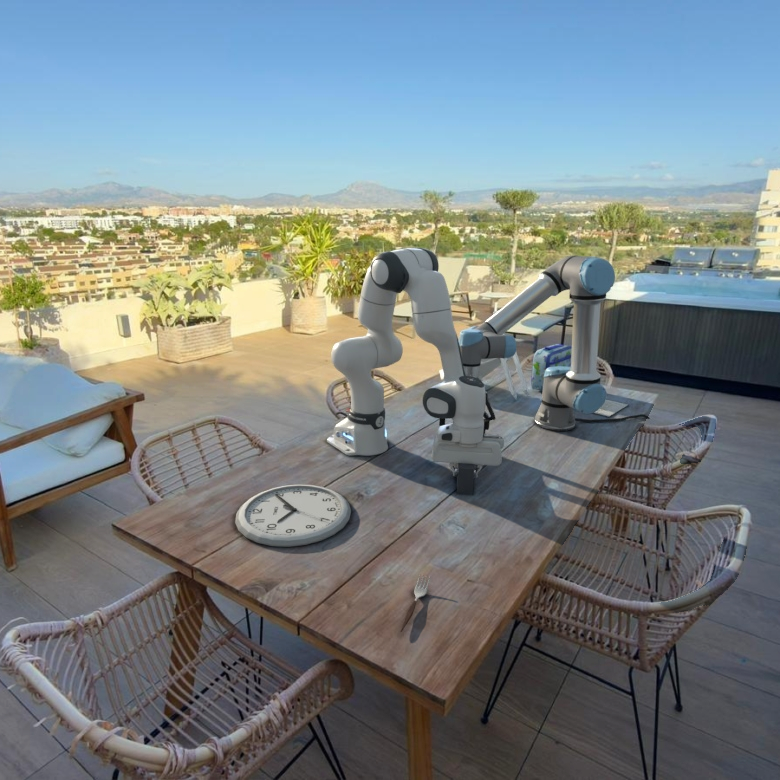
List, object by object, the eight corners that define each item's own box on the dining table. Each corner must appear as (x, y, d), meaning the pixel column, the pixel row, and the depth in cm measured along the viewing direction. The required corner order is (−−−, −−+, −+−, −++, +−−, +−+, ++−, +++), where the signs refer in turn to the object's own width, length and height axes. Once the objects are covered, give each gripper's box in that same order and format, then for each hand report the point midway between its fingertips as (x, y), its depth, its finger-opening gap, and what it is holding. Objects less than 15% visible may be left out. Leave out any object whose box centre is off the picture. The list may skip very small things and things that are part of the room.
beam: (456, 444, 185) (457, 423, 182) (469, 444, 184) (470, 423, 182) (456, 493, 151) (458, 468, 148) (472, 494, 150) (474, 469, 148)
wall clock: (351, 538, 125) (223, 542, 122) (351, 544, 125) (223, 548, 123) (350, 480, 153) (246, 482, 151) (350, 485, 154) (246, 487, 151)
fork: (394, 632, 98) (394, 623, 98) (419, 581, 113) (419, 573, 112) (407, 636, 97) (407, 627, 97) (430, 584, 112) (431, 576, 111)
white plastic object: (461, 429, 252) (437, 405, 227) (444, 352, 274) (420, 323, 250) (535, 404, 240) (518, 377, 215) (510, 326, 262) (492, 293, 237)
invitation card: (608, 416, 214) (573, 407, 224) (608, 416, 214) (573, 408, 224) (628, 404, 229) (594, 396, 238) (628, 405, 229) (594, 397, 238)
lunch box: (547, 396, 238) (552, 351, 232) (526, 391, 246) (531, 347, 239) (574, 385, 256) (579, 343, 250) (554, 380, 263) (559, 340, 257)
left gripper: (503, 430, 152) (499, 473, 156) (433, 426, 154) (431, 469, 158) (505, 439, 146) (501, 483, 150) (432, 434, 148) (430, 478, 152)
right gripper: (505, 376, 174) (499, 435, 180) (430, 371, 177) (427, 430, 183) (507, 382, 167) (501, 443, 173) (429, 377, 170) (425, 438, 176)
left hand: (464, 476), depth 154 cm, fingers closed on beam, 4 cm apart
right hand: (463, 436), depth 178 cm, fingers open, 13 cm apart
